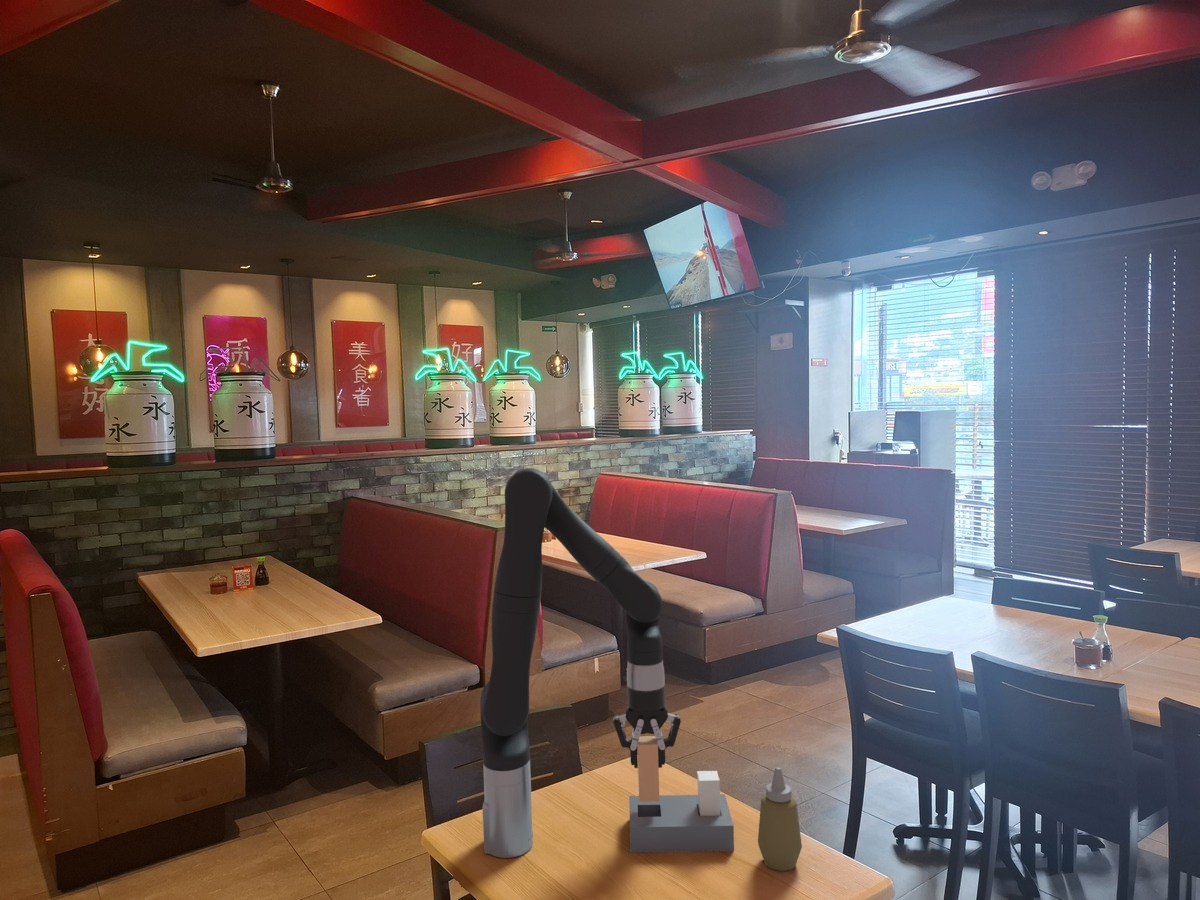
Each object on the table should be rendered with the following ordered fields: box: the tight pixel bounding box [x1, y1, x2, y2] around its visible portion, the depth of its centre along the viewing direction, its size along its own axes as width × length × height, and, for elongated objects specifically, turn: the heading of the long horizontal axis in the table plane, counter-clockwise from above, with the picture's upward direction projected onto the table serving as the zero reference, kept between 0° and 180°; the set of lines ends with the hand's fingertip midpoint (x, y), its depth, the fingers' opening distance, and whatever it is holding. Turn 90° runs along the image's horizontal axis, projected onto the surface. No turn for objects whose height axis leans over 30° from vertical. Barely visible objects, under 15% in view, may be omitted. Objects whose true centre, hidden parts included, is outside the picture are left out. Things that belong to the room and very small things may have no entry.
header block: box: [628, 793, 735, 853], centre depth 153 cm, size 20×12×5 cm, turn 89°
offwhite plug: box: [696, 770, 721, 816], centre depth 152 cm, size 4×4×12 cm
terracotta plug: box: [637, 735, 660, 802], centre depth 152 cm, size 4×4×12 cm
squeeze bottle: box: [757, 767, 803, 872], centre depth 142 cm, size 8×8×18 cm
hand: (648, 765), depth 152 cm, fingers open, 4 cm apart
